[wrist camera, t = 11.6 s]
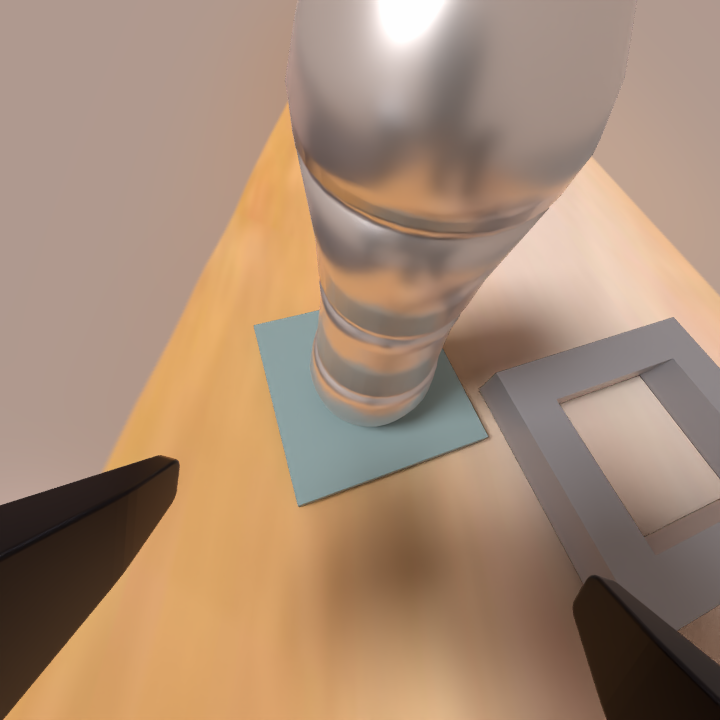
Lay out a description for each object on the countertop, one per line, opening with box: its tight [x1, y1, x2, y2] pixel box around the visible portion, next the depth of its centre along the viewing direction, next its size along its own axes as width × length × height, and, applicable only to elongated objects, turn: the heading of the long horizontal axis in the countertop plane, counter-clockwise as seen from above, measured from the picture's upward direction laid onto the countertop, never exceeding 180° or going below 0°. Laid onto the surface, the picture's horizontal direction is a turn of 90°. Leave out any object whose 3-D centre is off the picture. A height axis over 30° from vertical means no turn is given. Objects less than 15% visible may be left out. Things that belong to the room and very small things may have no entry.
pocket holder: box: [479, 317, 720, 631], centre depth 19 cm, size 14×13×2 cm
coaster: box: [254, 310, 488, 507], centre depth 20 cm, size 11×11×1 cm
